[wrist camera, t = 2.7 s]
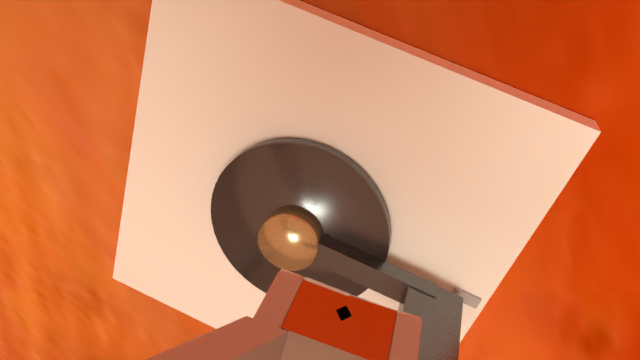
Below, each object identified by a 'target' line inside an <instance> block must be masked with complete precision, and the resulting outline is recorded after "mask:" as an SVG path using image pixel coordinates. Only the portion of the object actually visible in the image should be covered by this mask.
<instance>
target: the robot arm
mask: <svg viewBox="0 0 640 360" xmlns="http://www.w3.org/2000/svg"><path fill="white" fill-rule="evenodd" d="M421 326H422V320H421V317H418V316H415V315H412V314H409V313H406V312H403V311H400V310H395V309H392V308H389V307H386V306H383V305H380V304H378V303H375V302H372V301H369V300H366V299H363V298H360V297H358V296H355V295H352V294H350V293H347V292H344V291H342V290H339V289H337V288H334V287H331V286H329V285H326V284H323V283H321V282H318V281H316V280H313V279H310V278H308V277H304V276H302V275H299V274H296V273H294V272H291V271H288V270H286V269H283V268H282V269H281V270H280V271H279V272H278V273H277V275H276V277H275V279H274V281H273V282H272V284H271V286H270V288H269V290H268V292H267V293H266V295H265V297H264V299H263V301H262V303H261V304H260V306H259V308H258V310H257V312H256V313H255V315H254V317H253V318H251V317H248V316H245V317H242V318H240V319H238V320H236V321H233V322H231V323H229V324H226V325H224V326H222V327H220V328H217V329H215V330H213V331H210V332H208V333H206V334H204V335H201V336H199V337H197V338H194V339H192V340H190V341H188V342H185V343H183V344H181V345H178V346H176V347H174V348H172V349H169V350H167V351H165V352H163V353H160V354H158V355H156V356H153V357H151V358H149V359H147V360H418V353H419V344H420V335H421Z"/></svg>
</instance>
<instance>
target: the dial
mask: <svg viewBox="0 0 640 360" xmlns="http://www.w3.org/2000/svg"><path fill="white" fill-rule="evenodd" d="M211 221H212V226H213V230H214V233H215V236H216V239H217V241H218V244H219V246H220V247H221V249H222V251H223V253H224V255H225V256H226V258H227V259H228V261H229V262H230V263H231V264H232V266H233V267H234V268H235V269H236V270H237V271H238V272H239V273H240V274H241V275H242V276H243V277H244V278H245V279H246V280H247V281H249V282H250V283H251V284H252V285H254V286H255V287H257V288H258V289H260V290H261V291H263V292H265V293H267V292H268V290H269V288H270V286H271V284H272V282H273V281H274V279H275V277H276V275H277V273H278V272H279V271H280V270H281V269H282V268H283V269H286V270H288V271H291V272H294V273H296V274H299V275H302V276H304V277H308V278H310V279H313V280H316V281H318V282H321V283H323V284H326V285H329V286H331V287H334V288H337V289H339V290H342V291H344V292H347V293H350V294H352V295H355V296H359V295H360V294H362V293H363V292H364V291H366V290H367V289H368V288H369V289H371V290H373V291H376V292H378V293H380V294H382V295H384V296H386V297H388V298H391V299H393V300H395V301H397V302H399V303H400V304H399V308H398V310H400V311H403V312H406V313H409V314H412V315H415V316H418V317H421V320H422V326H421V335H420V344H419V353H418V360H458V354H459V343H460V332H461V320H462V309H463V297H461V296H458V295H456V294H454V293H452V292H450V291H447V290H445V289H443V288H441V287H439V286H438V285H437V284H435V283H433V282H430V281H428V280H426V279H424V278H422V277H419V276H417V275H415V274H413V273H411V272H408V271H406V270H404V269H402V268H400V267H397V266H395V265H393V264H391V263H389V262H386V259H387V256H388V253H389V248H390V244H391V233H392V230H391V220H390V216H389V211H388V208H387V205H386V203H385V200H384V198H383V196H382V194H381V192H380V190H379V189H378V187H377V186H376V184H375V183H374V181H373V180H372V179H371V177H370V176H369V175H368V174H367V173H366V172H365V171H364V170H363V169H362V168H361V167H360V166H359V165H358V164H357V163H355V162H354V161H353V160H352V159H350V158H349V157H347V156H346V155H344V154H343V153H341V152H340V151H338V150H336V149H334V148H332V147H330V146H327V145H325V144H322V143H319V142H316V141H312V140H308V139H302V138H293V137H290V138H276V139H269V140H266V141H263V142H260V143H257V144H255V145H253V146H251V147H249V148H247V149H246V150H244V151H243V152H242V153H240V154H239V155H238V156H237V157H236V158H235V159H234V160H233V161H232V162H231V163H230V164H228V165H227V166H226V168H225V169H224V170H223V172H222V173H221V174H220V176H219V178H218V180H217V182H216V184H215V187H214V190H213V193H212V199H211Z"/></svg>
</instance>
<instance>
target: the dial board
mask: <svg viewBox="0 0 640 360" xmlns="http://www.w3.org/2000/svg"><path fill="white" fill-rule="evenodd" d="M600 133H601V131H600V129H599V127H598V125H597V123H596V121H595V120H592V119H590V118H587V117H585V116H582V115H580V114H578V113H575V112H573V111H570V110H568V109H565V108H563V107H560V106H558V105H555V104H553V103H551V102H548V101H546V100H543V99H541V98H538V97H536V96H533V95H531V94H528V93H526V92H523V91H521V90H519V89H516V88H514V87H511V86H509V85H506V84H504V83H501V82H499V81H496V80H494V79H492V78H489V77H487V76H484V75H482V74H479V73H477V72H474V71H472V70H469V69H467V68H465V67H462V66H460V65H457V64H455V63H452V62H450V61H447V60H445V59H442V58H440V57H438V56H435V55H433V54H430V53H428V52H425V51H423V50H420V49H418V48H415V47H413V46H411V45H408V44H406V43H403V42H401V41H398V40H396V39H393V38H391V37H388V36H386V35H384V34H381V33H379V32H376V31H374V30H371V29H369V28H366V27H364V26H361V25H359V24H357V23H354V22H352V21H349V20H347V19H344V18H342V17H339V16H337V15H334V14H332V13H330V12H327V11H325V10H322V9H320V8H317V7H315V6H312V5H310V4H307V3H305V2H303V1H300V0H152V6H151V13H150V20H149V27H148V34H147V41H146V48H145V55H144V62H143V69H142V76H141V83H140V90H139V97H138V104H137V111H136V118H135V125H134V132H133V139H132V146H131V153H130V160H129V167H128V174H127V181H126V188H125V195H124V202H123V209H122V216H121V223H120V230H119V237H118V244H117V251H116V258H115V265H114V272H113V279H115V280H117V281H119V282H122V283H124V284H126V285H128V286H130V287H132V288H134V289H136V290H138V291H140V292H142V293H144V294H146V295H148V296H150V297H152V298H154V299H156V300H158V301H160V302H163V303H165V304H167V305H169V306H171V307H173V308H175V309H177V310H179V311H181V312H183V313H185V314H187V315H189V316H191V317H193V318H195V319H197V320H199V321H201V322H204V323H206V324H208V325H210V326H212V327H214V328H216V329H217V328H220V327H222V326H224V325H226V324H229V323H231V322H233V321H236V320H238V319H240V318H242V317H245V316H248V317H251V318H253V317H254V315H255V313H256V312H257V310H258V308H259V306H260V304H261V303H262V301H263V299H264V297H265V295H266V293H265V292H263V291H261V290H260V289H258V288H257V287H255V286H254V285H252V284H251V283H250V282H249V281H247V280H246V279H245V278H244V277H243V276H242V275H241V274H240V273H239V272H238V271H237V270H236V269H235V268H234V267H233V266H232V264H231V263H230V262H229V261H228V259H227V258H226V256H225V255H224V253H223V251H222V249H221V247H220V246H219V244H218V241H217V239H216V236H215V233H214V230H213V226H212V221H211V199H212V193H213V190H214V187H215V184H216V182H217V180H218V178H219V176H220V174H221V173H222V172H223V170H224V169H225V168H226V166H227V165H228V164H230V163H231V162H232V161H233V160H234V159H235V158H236V157H237V156H238V155H239V154H240V153H242V152H243V151H244V150H246V149H247V148H249V147H251V146H253V145H255V144H257V143H260V142H263V141H266V140H269V139H276V138H290V137H293V138H302V139H308V140H312V141H316V142H319V143H322V144H325V145H327V146H330V147H332V148H334V149H336V150H338V151H340V152H341V153H343V154H344V155H346V156H347V157H349V158H350V159H352V160H353V161H354V162H355V163H357V164H358V165H359V166H360V167H361V168H362V169H363V170H364V171H365V172H366V173H367V174H368V175H369V176H370V177H371V179H372V180H373V181H374V183H375V184H376V186H377V187H378V189H379V190H380V192H381V194H382V196H383V198H384V200H385V203H386V205H387V208H388V211H389V216H390V220H391V230H392V233H391V244H390V248H389V253H388V256H387V259H386V262H389V263H391V264H393V265H395V266H397V267H400V268H402V269H404V270H406V271H408V272H411V273H413V274H415V275H417V276H419V277H422V278H424V279H426V280H428V281H430V282H433V283H435V284H437V285H438V286H439V287H441V288H443V289H445V290H447V291H450V292H452V293H454V294H456V295H458V296H461V297H463V309H462V320H461V332H460V342H461V340H462V339H463V337H464V336H465V334H466V333H467V331H468V330H469V328H470V327H471V325H472V324H473V322H474V321H475V319H476V318H477V316H478V315H479V313H480V312H481V311H482V309H483V308H484V306H485V305H486V303H487V302H488V300H489V299H490V297H491V296H492V294H493V293H494V291H495V290H496V288H497V287H498V285H499V284H500V282H501V281H502V279H503V278H504V276H505V275H506V273H507V272H508V270H509V269H510V267H511V266H512V264H513V263H514V261H515V260H516V258H517V257H518V255H519V254H520V252H521V251H522V249H523V248H524V246H525V245H526V243H527V242H528V240H529V239H530V237H531V236H532V234H533V233H534V231H535V230H536V228H537V227H538V225H539V224H540V222H541V221H542V219H543V218H544V216H545V215H546V213H547V212H548V210H549V209H550V207H551V206H552V204H553V203H554V201H555V200H556V198H557V197H558V196H559V194H560V193H561V191H562V190H563V188H564V187H565V185H566V184H567V182H568V181H569V179H570V178H571V176H572V175H573V173H574V172H575V170H576V169H577V167H578V166H579V164H580V163H581V161H582V160H583V158H584V157H585V155H586V154H587V152H588V151H589V149H590V148H591V146H592V145H593V143H594V142H595V140H596V139H597V137H598V136H599V134H600ZM358 297H360V298H363V299H366V300H369V301H372V302H375V303H378V304H380V305H383V306H386V307H389V308H392V309H395V310H398V308H399V304H400V303H399V302H397V301H395V300H393V299H391V298H388V297H386V296H384V295H382V294H380V293H378V292H376V291H373V290H371V289H369V288H368V289H367V290H366V291H364V292H363V293H362V294H360V295H359V296H358Z"/></svg>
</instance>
